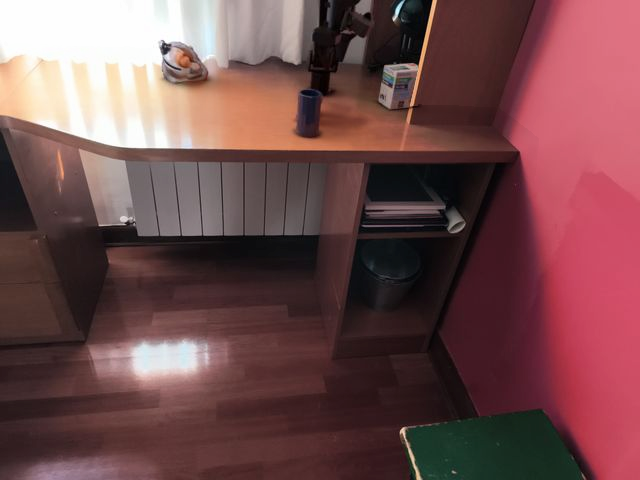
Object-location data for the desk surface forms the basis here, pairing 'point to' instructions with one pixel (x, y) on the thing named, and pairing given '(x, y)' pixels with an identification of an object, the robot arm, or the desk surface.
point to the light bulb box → (398, 85)
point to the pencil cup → (308, 112)
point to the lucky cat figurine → (181, 62)
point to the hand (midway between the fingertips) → (334, 66)
